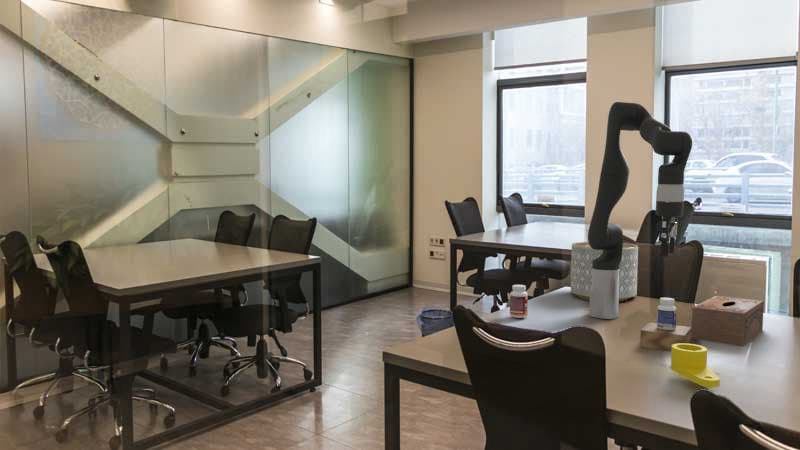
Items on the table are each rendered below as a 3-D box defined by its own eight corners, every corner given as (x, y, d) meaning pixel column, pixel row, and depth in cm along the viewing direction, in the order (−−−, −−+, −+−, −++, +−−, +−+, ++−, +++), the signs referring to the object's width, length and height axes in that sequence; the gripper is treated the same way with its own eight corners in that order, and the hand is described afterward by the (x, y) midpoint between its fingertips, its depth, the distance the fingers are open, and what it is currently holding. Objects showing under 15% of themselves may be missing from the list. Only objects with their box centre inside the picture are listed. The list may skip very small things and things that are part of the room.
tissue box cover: (742, 347, 193) (744, 313, 192) (691, 339, 202) (692, 307, 202) (762, 331, 213) (763, 300, 212) (714, 324, 222) (715, 295, 221)
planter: (573, 304, 255) (574, 247, 254) (567, 293, 280) (568, 241, 279) (642, 307, 251) (643, 249, 249) (630, 295, 276) (631, 242, 274)
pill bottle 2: (677, 331, 191) (678, 300, 190) (658, 330, 192) (659, 300, 191) (673, 326, 196) (674, 297, 195) (655, 326, 197) (656, 296, 196)
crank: (665, 365, 174) (666, 343, 174) (697, 365, 174) (698, 343, 173) (694, 387, 156) (695, 362, 156) (730, 387, 156) (731, 362, 155)
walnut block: (640, 347, 192) (640, 330, 192) (648, 338, 202) (649, 322, 202) (684, 352, 186) (684, 335, 185) (690, 343, 196) (691, 327, 195)
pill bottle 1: (528, 318, 231) (529, 287, 230) (510, 318, 231) (511, 287, 230) (526, 314, 237) (526, 284, 236) (508, 314, 237) (509, 284, 236)
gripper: (661, 198, 201) (659, 251, 202) (651, 200, 189) (648, 256, 190) (687, 199, 197) (685, 253, 198) (679, 201, 185) (676, 258, 186)
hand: (667, 254), depth 194 cm, fingers open, 8 cm apart
